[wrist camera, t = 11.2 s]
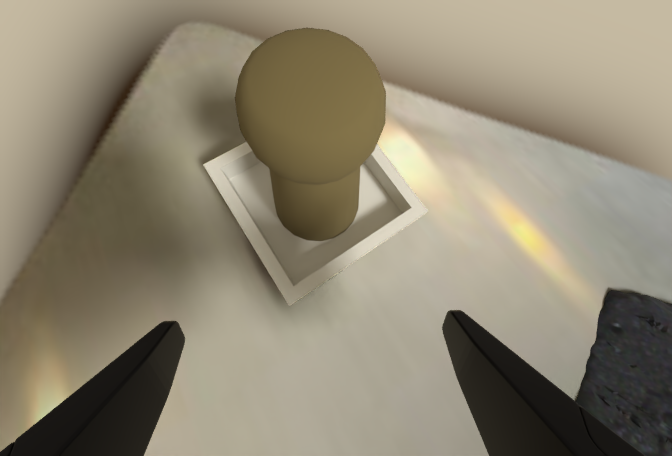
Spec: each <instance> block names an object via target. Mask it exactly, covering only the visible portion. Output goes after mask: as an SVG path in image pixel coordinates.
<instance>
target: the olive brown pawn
mask: <svg viewBox="0 0 672 456" xmlns="http://www.w3.org/2000/svg"><path fill="white" fill-rule="evenodd" d="M235 102H236V110H237V115H238V121H239V126H240V130H241V132H242V134H243V136H244V138H245V140H246V141H247V143H248V145H249V146H250V148H251V149H252V151H253V153H254V154H255V156H256V158H257V159H259V160H260V161H261V162H262V163H264V164H265V165H266V166H267V167H269V170H270V177H271V183H272V190H273V197H274V203H275V208H276V213H277V216H278V218H279V219H280V221H281V223H282V224H283V226H284V227H285V228H286V229H287V230H289V231H290V232H291V233H292V234H293V235H295V236H297V237H300V238H302V239H305V240H310V241H324V240H328V239H332V238H335V237H336V236H338V235H340V234H341V233H343V232H345V231H346V230H347V228H348V227H349V226H350V225H351V224H352V223H353V221H354V219H355V217H356V214H357V211H358V207H359V186H360V166H361V165H362V164H363V163H364V162H365V161H366V159H367V158H368V157H369V156H370V155H371V154H372V153H373V152H374V150H375V147H376V145H377V142H378V140H379V137H380V135H381V132H382V130H383V127H384V125H385V107H386V91H385V88H384V86H383V83H382V80H381V77H380V74H379V72H378V70H377V67H376V65H375V64H374V62H373V61H372V59H371V58H370V57H369V56H368V54H367V53H366V52H365V51H364V50H363V48H361V47H360V46H359V45H357V44H356V43H354V42H353V41H351V40H350V39H349V38H347V37H345V36H343V35H340V34H337V33H334V32H331V31H329V30H323V29H314V28H302V29H295V30H288V31H285V32H282V33H280V34H277V35H275V36H273V37H270V38H268V39H267V40H265V41H264V42H263V43H262V44H261V45H259V46H258V47H257V48H256V49H255V50H253V51H252V53H251V55H250V56H249V58H248V60H247V61H246V63H245V64H244V66H243V68H242V71H241V73H240V76H239V79H238V84H237V90H236V95H235Z"/></svg>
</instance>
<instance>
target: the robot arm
mask: <svg viewBox="0 0 672 456" xmlns="http://www.w3.org/2000/svg"><path fill="white" fill-rule="evenodd" d="M442 330H443V334H444V338H445V341H446V344H447V348H448V351H449V354H450V357H451V361H452V364H453V367H454V370H455V373H456V376H457V379H458V382H459V384H460V387H461V389H462V392H463V394H464V396H465V399H466V401H467V404H468V406H469V408H470V411H471V413H472V416H473V418H474V420H475V423H476V425H477V428H478V430H479V432H480V435H481V437H482V440H483V442H484V444H485V447H486V449H487V452H488V454H489V456H645V455H644V454H643V453H641V452H640V451H639V450H637V449H636V448H635V447H633V446H632V445H631V444H629V443H628V442H626V441H625V440H624V439H622V438H621V437H620V436H619V435H617V434H616V433H615V432H613V431H612V430H611V429H610V428H608V427H607V426H606V425H604V424H603V423H602V422H601V421H599V420H598V419H597V418H596V417H594V416H593V415H592V414H591V413H589V412H588V411H587V410H585V409H584V408H583V407H582V406H579V405H578V403H577V402H575V401H574V400H573V399H572V398H570V397H569V396H568V395H567V394H565V393H564V392H563V391H562V390H560V389H559V388H558V387H557V386H555V385H554V384H553V383H552V382H550V381H549V380H548V379H547V378H545V377H544V376H543V375H542V374H540V373H539V372H538V371H537V370H535V369H534V368H533V367H532V366H530V365H529V364H528V363H527V362H525V361H524V360H523V359H522V358H520V357H519V356H518V355H517V354H515V353H514V352H513V351H512V350H510V349H509V348H508V347H507V346H505V345H504V344H503V343H502V342H500V341H499V340H498V339H497V338H495V337H494V336H493V335H492V334H490V333H489V332H488V331H487V330H485V329H484V328H483V327H482V326H480V325H479V324H478V323H477V322H475V321H474V320H473V319H472V318H470V317H469V316H468V315H467V314H465V313H464V312H463V311H461V310H450V311H448V312H447V315H446V317H445V320H444V323H443V327H442ZM184 343H185V337H184V334H183V332H182V330H181V328H180V325H179V323H178V322H177V321H164V322H161V323H160V324H159V325H157V326H156V327H155V328H154V329H152V330H151V331H150V332H149V333H147V334H146V335H145V336H144V337H142V338H141V339H140V340H139V341H137V342H136V343H135V344H134V345H132V346H131V347H130V348H129V349H128V350H126V351H125V352H124V353H123V354H121V355H120V356H119V357H118V358H116V359H115V360H114V361H113V362H111V363H110V364H109V365H108V366H106V367H105V368H104V369H103V370H102V371H100V372H99V373H98V374H97V375H95V376H94V377H93V378H92V379H90V380H89V381H88V382H87V383H85V384H84V385H83V386H82V387H80V388H79V389H78V390H77V391H75V392H74V393H73V394H72V395H71V396H69V397H68V398H67V399H66V400H64V401H63V402H62V403H61V404H59V405H58V406H57V407H56V408H54V409H53V410H52V411H51V412H49V413H48V414H47V415H46V416H44V417H43V418H42V419H41V420H40V421H38V422H37V423H36V424H35V425H33V426H32V427H31V428H30V429H28V430H27V431H26V432H25V433H23V434H22V435H21V436H20V437H18V438H17V439H16V441H15V442H13V443H11V444H10V445H8V446H7V447H6V448H5V449H3V450H2V451H1V452H0V456H144V454H145V451H146V449H147V446H148V444H149V441H150V439H151V437H152V434H153V432H154V429H155V427H156V425H157V422H158V420H159V417H160V415H161V412H162V410H163V408H164V405H165V403H166V400H167V398H168V395H169V392H170V389H171V386H172V383H173V380H174V376H175V373H176V370H177V367H178V363H179V360H180V357H181V353H182V350H183V347H184Z"/></svg>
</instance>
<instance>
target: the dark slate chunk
mask: <svg viewBox="0 0 672 456" xmlns="http://www.w3.org/2000/svg"><path fill="white" fill-rule="evenodd" d="M576 402H577V403H578V405H579V406H582V407H583V408H584V409H585V410H587V411H588V412H589V413H591V414H592V415H593V416H594V417H596V418H597V419H598V420H599V421H601V422H602V423H603V424H604V425H606V426H607V427H608V428H610V429H611V430H612V431H613V432H615V433H616V434H617V435H619V436H620V437H621V438H622V439H624V440H625V441H626V442H628V443H629V444H631V445H632V446H633V447H635V448H636V449H637V450H639V451H640V452H641V453H643V454H644V455H645V456H672V304H668V303H663V302H662V301H660V300H658V299H656V298H653V297H650V296H648V295H640V294H637V293H622V292H619V291H614V290H611V291H610V292H609V293H608V295H607V297H606V298H605V305H604V307H603V308H602V310H601V311H600V314H599V318H598V326H597V338H596V341H595V343H594V345H593V346H592V347H591V350H590V357H589V359H588V361H587V364H586V373H585V376H584V378H583V380H582V383H581V387H580V391H579V395H578V398H577V400H576Z"/></svg>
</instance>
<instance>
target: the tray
mask: <svg viewBox="0 0 672 456" xmlns="http://www.w3.org/2000/svg"><path fill="white" fill-rule="evenodd" d="M203 165H204V167H205V169H206V170H207V172H208V174H209V175H210V177H211V178H212V180H213V182H214V183H215V185H216V187H217V188H218V190H219V192H220V193H221V195H222V197H223V198H224V200H225V202H226V203H227V205H228V206H229V208H230V210H231V211H232V213H233V215H234V216H235V218H236V220H237V221H238V223H239V225H240V226H241V228H242V230H243V231H244V233H245V234H246V236H247V238H248V239H249V241H250V243H251V244H252V246H253V248H254V249H255V251H256V253H257V254H258V256H259V257H260V259H261V261H262V262H263V264H264V266H265V267H266V269H267V271H268V272H269V274H270V276H271V277H272V279H273V281H274V282H275V284H276V285H277V287H278V289H279V290H280V292H281V294H282V295H283V297H284V299H285V300H286V302H287V304H288V305H289V306H290V305H292V304H293V303H295V302H296V301H298V300H299V299H301V298H302V297H304V296H305V295H307V294H308V293H310V292H311V291H313V290H314V289H315V288H317V287H318V286H320V285H321V284H323V283H324V282H326V281H327V280H329V279H330V278H332V277H333V276H335V275H336V274H338V273H339V272H341V271H342V270H343V269H345V268H346V267H348V266H349V265H351V264H352V263H354V262H355V261H357V260H358V259H360V258H361V257H363V256H364V255H366V254H367V253H369V252H370V251H371V250H373V249H374V248H376V247H377V246H379V245H380V244H382V243H383V242H385V241H386V240H388V239H389V238H391V237H392V236H394V235H395V234H397V233H398V232H399V231H401V230H402V229H404V228H405V227H407V226H408V225H410V224H411V223H413V222H414V221H416V220H417V219H418V218H420V217H421V216H423V215H424V214H425V213H427V212H428V210H427V209H426V207H425V206H424V205H423V203H422V202H421V201H420V199H419V198H418V197H417V195H416V194H415V193H414V192H413V190H412V189H411V188H410V186H409V185H408V184H407V182H406V181H405V180H404V178H403V177H402V176H401V175H400V173H399V172H398V171H397V169H396V168H395V167H394V165H393V164H392V163H391V161H390V160H389V159H388V158H387V156H386V155H385V154H384V152H383V151H382V150H381V148H380V147H379V146H378V144H377V145H376V147H375V150H374V152H373V153H372V154H371V155H370V156H369V157H368V158H367V159H366V161H365V162H364V163H363V164H362V165H361V166H360V186H359V207H358V211H357V214H356V217H355V219H354V221H353V223H352V224H351V225H350V226H349V227H348V228H347V230H346V231H345V232H343V233H341V234H340V235H338V236H336V237H335V238H332V239H328V240H324V241H310V240H305V239H302V238H300V237H297V236H295V235H293V234H292V233H291V232H290V231H289V230H287V229H286V228H285V227H284V226H283V224H282V223H281V221H280V219H279V218H278V216H277V213H276V208H275V203H274V197H273V190H272V183H271V177H270V170H269V167H267V166H266V165H265V164H264V163H262V162H261V161H260V160H259V159H257V158H256V156H255V154H254V153H253V151H252V149H251V148H250V146H249V145H248V143H247V142H245V143H243V144H241V145H239V146H237V147H235V148H234V149H232V150H230V151H228V152H226V153H224V154H222V155H220V156H218V157H216V158H215V159H213V160H211V161H209V162H207V163H205V164H203Z"/></svg>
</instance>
